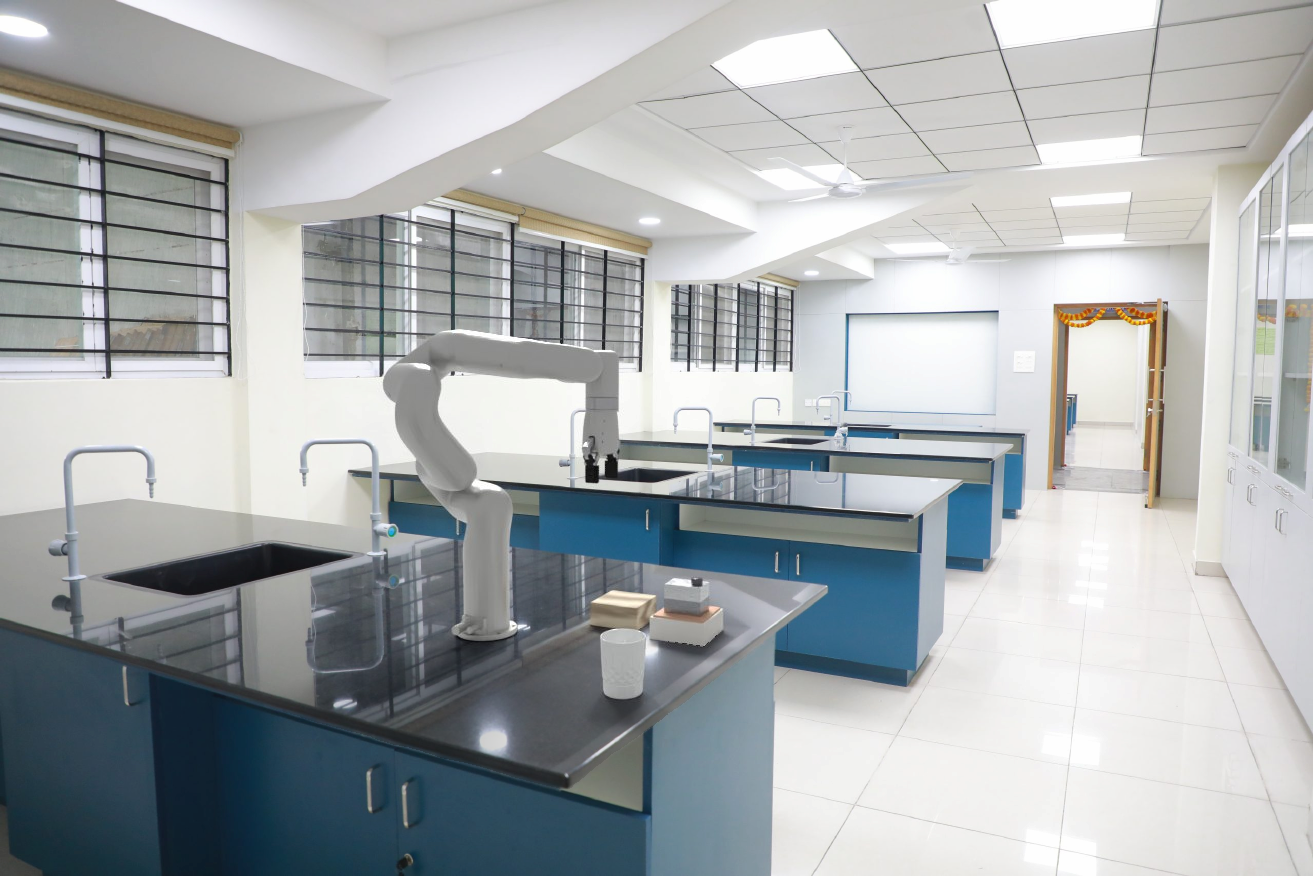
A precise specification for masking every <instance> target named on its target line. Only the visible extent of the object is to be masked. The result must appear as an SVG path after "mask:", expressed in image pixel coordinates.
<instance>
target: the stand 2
mask: <svg viewBox="0 0 1313 876" xmlns="http://www.w3.org/2000/svg"><path fill="white" fill-rule="evenodd" d="M723 630H724V608H721V606H720V607H719V606H713V605H709V610H708V611H707V612H706V613H704V614H703V615H702V616H701V617H697V616H689V615H682V614H674V613H666V612H664V607H662V608H661V609H659V610H657V612H656V613H655V614H653V615H652V616H651V617H650V622H649V639H650V640H654V641H655V640H656V641H661V642H662V641H663V642H668V641H669V642H668V643H675V642H678V643H677V644H682V643H687V644H686V645H689V644H693V645H692V646H696V645H700V646H699V647H703V646H705V645H706V644H707V643H708V642H709V643H710V642H711V641H712V640H714V639H715V636H716V635H717V636H718V635H719V634H720V633H721V632H722V631H723ZM709 643H708V644H709ZM708 644H707V645H708ZM707 645H706V646H707ZM706 646H705V647H706Z"/></svg>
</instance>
